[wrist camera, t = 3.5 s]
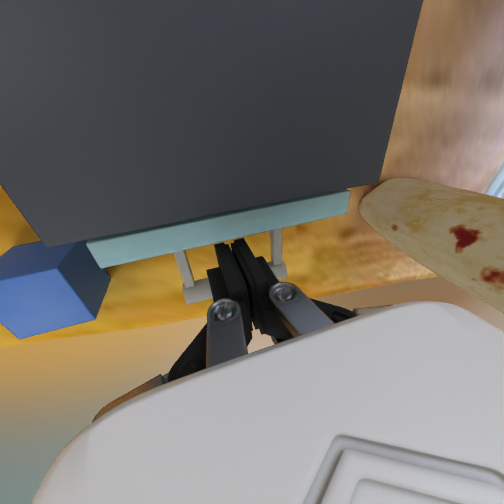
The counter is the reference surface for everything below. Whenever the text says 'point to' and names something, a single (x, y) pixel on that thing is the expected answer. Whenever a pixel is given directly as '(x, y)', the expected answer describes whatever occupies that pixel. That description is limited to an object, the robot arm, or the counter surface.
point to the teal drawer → (217, 235)
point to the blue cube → (49, 287)
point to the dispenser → (192, 106)
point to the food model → (444, 232)
